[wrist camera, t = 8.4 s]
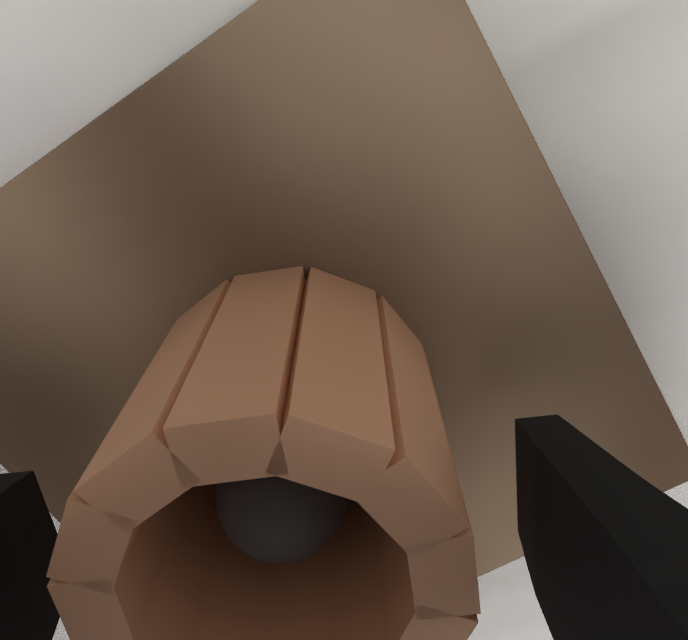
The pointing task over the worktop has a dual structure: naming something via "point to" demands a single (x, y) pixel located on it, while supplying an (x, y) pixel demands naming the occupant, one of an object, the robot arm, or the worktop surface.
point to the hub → (267, 461)
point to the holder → (320, 253)
